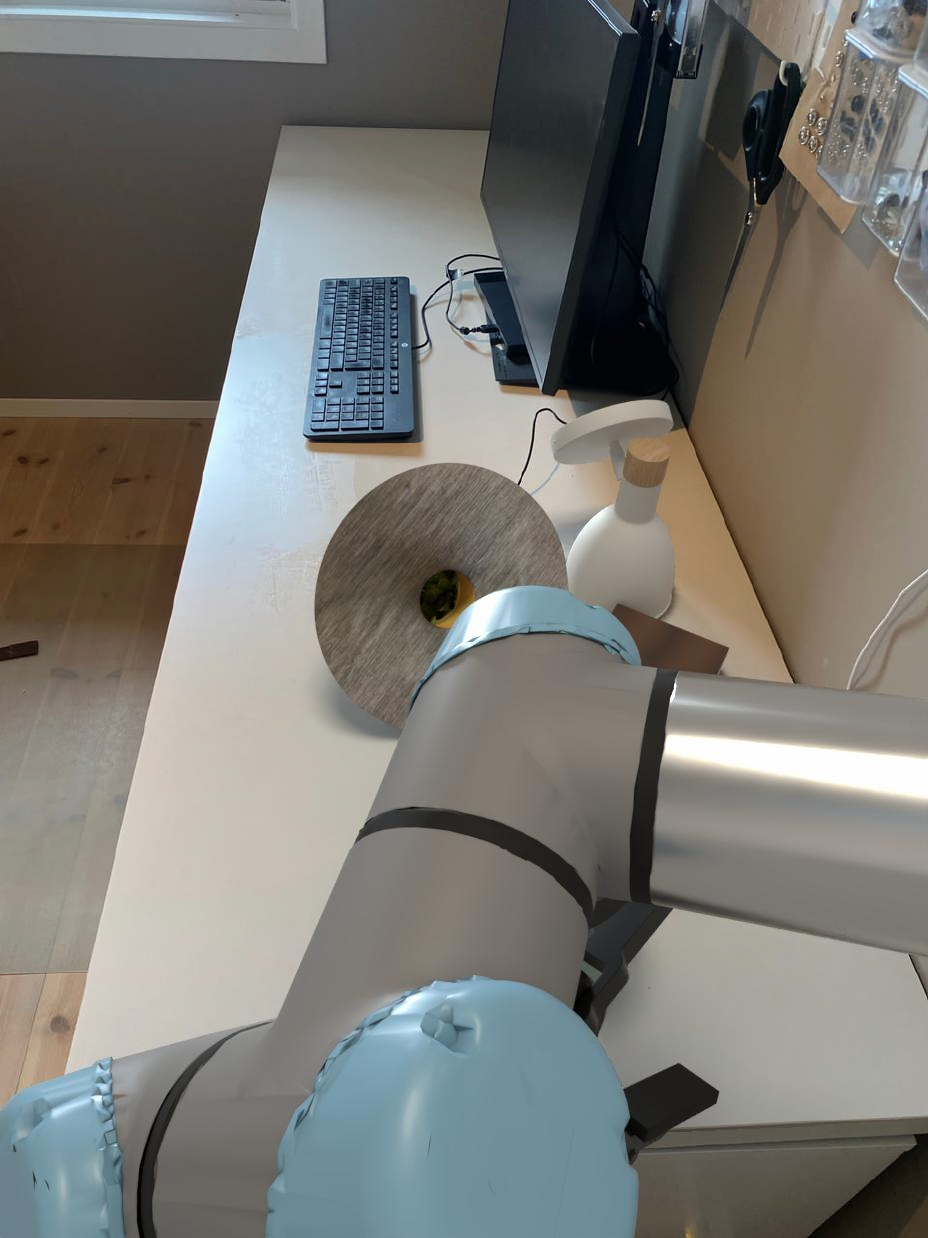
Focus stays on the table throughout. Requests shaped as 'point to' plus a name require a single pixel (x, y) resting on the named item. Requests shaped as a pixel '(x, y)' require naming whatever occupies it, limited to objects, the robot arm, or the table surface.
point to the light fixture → (622, 508)
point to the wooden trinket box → (670, 644)
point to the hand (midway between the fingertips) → (725, 969)
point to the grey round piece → (423, 574)
